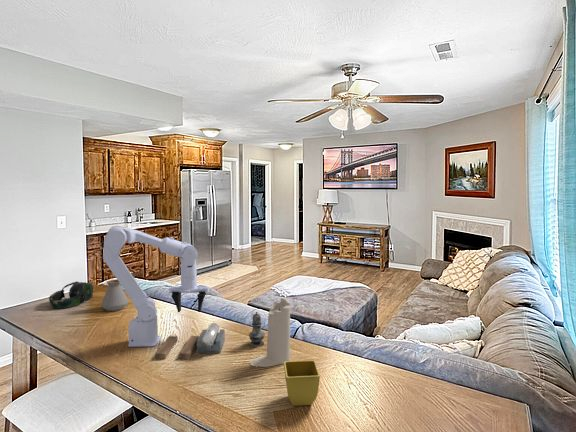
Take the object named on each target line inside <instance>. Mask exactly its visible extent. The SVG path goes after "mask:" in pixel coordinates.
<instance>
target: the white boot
mask: <svg viewBox="0 0 576 432" xmlns="http://www.w3.org/2000/svg"><path fill="white" fill-rule="evenodd" d="M267 315H268V318H267V336H266V337H267V338H266V339H267V340H266V355H262V356H259V357H255V358H254V359H253V360H249V361H248V362H247V363H248V364H249V363H251V365H252V364H253V366H256V367H255V368H258V366H259V367H263V368H266V367H273V366H280V365H284V362H285V361H291V302H290V301H289V300H288V298H285V297H280V301H276V302H275V304H274V305H271V306H270V307H269V311H268V314H267Z"/></svg>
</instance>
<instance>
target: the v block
mask: <svg viewBox="0 0 576 432" xmlns="http://www.w3.org/2000/svg"><path fill="white" fill-rule="evenodd" d="M206 331H207V329H202V330H201V333H200V334H199V335H198V336H199V338H198V340H197V346H196V353H197V354H221V352H222V349H223V347H224V343H225V340H226V331H225V328H224V329H221V328H219V331H218V334H217V336H216V338H215V341H214V343H213V345H212V346H211V347H210V348H206V347H204V346H203V345H202V339H203V337H204V335H205V333H206Z"/></svg>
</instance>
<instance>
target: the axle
mask: <svg viewBox="0 0 576 432" xmlns="http://www.w3.org/2000/svg"><path fill="white" fill-rule="evenodd" d="M206 330H207V331H206V333H205V335H204V337H203V339H202V345H203V346H204V347H206V348H210V347H211V346H212V345H213V343H214V341H215V338H216V336H217V334H218V333H219V332H220V325H219V324H218V323H215V322H212V323H210V324H209V325H208V327H207V328H206Z"/></svg>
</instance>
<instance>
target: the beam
mask: <svg viewBox="0 0 576 432" xmlns="http://www.w3.org/2000/svg"><path fill="white" fill-rule="evenodd" d="M199 336H200V335H190V337H189V338H188V340H187V342H186V343H185V345H184V347H183V348H182V350H181V352H180V360H187V358H189V359H190V358H191V357H192V355H193V353H194V351H195V349H196V348H197V340H198V338H199ZM177 342H178V336H177V335H169V336H168V337H167V338H166V340H165V341H164V342H163V344H162V345H161V346H160V347H159V349H158V350H157V352H156V353H155V354H156V355H155V359H156V360H165V359H167V358H168V356H169V354H170V352H171V351H172V350H173V348H174V347H175V345H176V343H177ZM171 349H172V350H171ZM189 359H188V360H189Z"/></svg>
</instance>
